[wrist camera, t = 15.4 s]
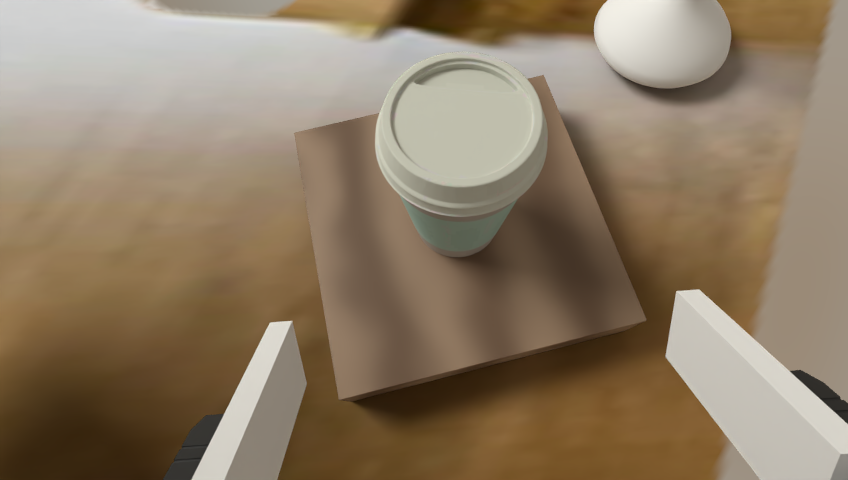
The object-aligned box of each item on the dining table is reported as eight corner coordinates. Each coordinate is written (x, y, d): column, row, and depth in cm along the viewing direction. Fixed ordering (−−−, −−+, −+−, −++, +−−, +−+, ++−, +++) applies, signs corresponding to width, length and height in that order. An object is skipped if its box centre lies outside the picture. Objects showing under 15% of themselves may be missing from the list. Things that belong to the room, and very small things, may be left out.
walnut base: (351, 401, 32) (338, 399, 29) (308, 159, 39) (294, 132, 36) (624, 331, 33) (646, 320, 29) (534, 106, 40) (543, 75, 36)
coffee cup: (542, 209, 32) (593, 101, 21) (466, 302, 30) (478, 236, 19) (447, 144, 35) (447, 15, 23) (371, 226, 33) (330, 127, 21)
